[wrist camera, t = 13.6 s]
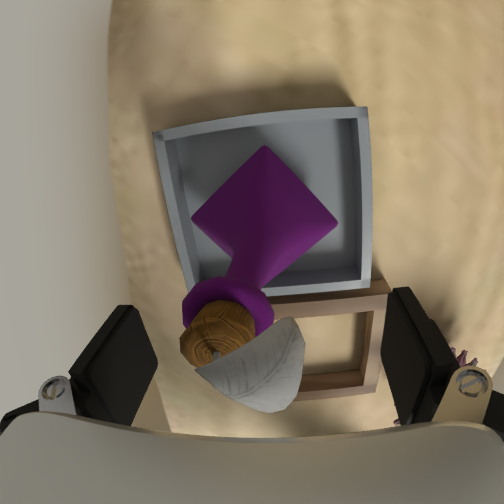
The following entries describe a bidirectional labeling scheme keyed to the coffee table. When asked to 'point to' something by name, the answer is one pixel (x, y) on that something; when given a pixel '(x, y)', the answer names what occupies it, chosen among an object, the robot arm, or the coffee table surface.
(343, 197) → the tray
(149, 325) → the coffee table surface
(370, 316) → the square wooden frame
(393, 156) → the coffee table surface
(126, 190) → the coffee table surface
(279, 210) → the perfume bottle
